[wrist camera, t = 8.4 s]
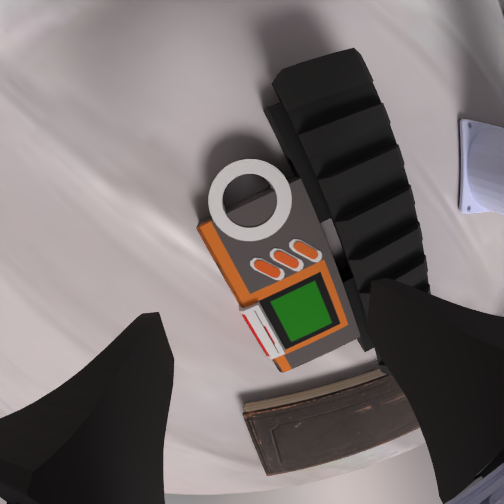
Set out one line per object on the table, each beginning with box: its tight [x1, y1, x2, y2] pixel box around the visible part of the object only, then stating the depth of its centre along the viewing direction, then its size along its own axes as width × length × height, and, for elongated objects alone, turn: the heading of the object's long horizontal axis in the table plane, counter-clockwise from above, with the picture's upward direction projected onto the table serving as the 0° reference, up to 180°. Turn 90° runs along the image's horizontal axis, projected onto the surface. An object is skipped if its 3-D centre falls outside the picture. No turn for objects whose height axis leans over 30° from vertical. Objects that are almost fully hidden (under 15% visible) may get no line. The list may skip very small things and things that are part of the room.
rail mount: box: [264, 48, 431, 376], centre depth 17 cm, size 21×6×5 cm, turn 26°
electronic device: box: [197, 159, 360, 372], centre depth 19 cm, size 7×3×15 cm
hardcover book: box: [243, 368, 420, 476], centre depth 27 cm, size 16×23×2 cm
